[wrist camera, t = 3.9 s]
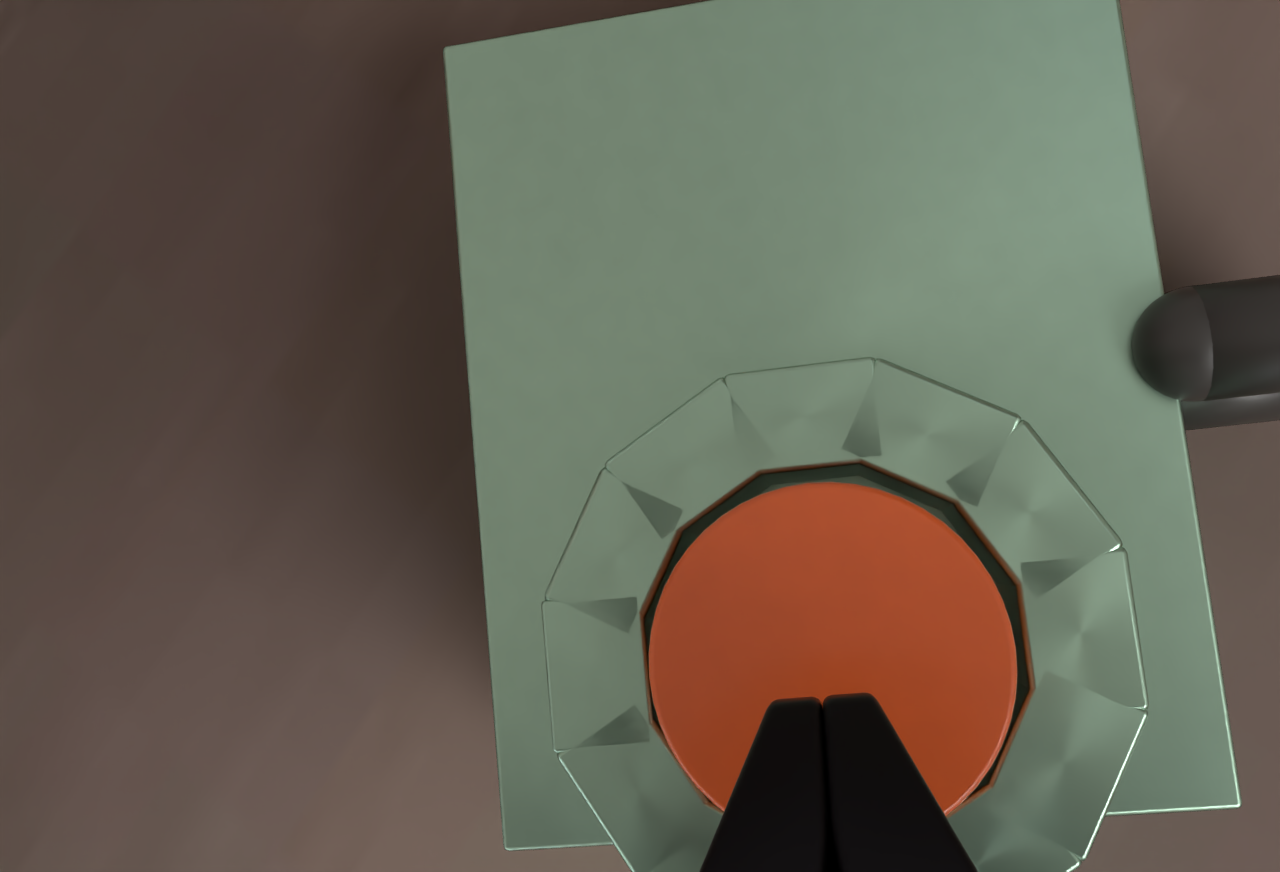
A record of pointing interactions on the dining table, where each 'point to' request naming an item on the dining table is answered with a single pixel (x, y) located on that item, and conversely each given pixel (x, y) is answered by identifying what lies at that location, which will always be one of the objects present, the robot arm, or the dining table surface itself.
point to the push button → (833, 633)
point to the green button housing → (826, 382)
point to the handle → (1215, 351)
